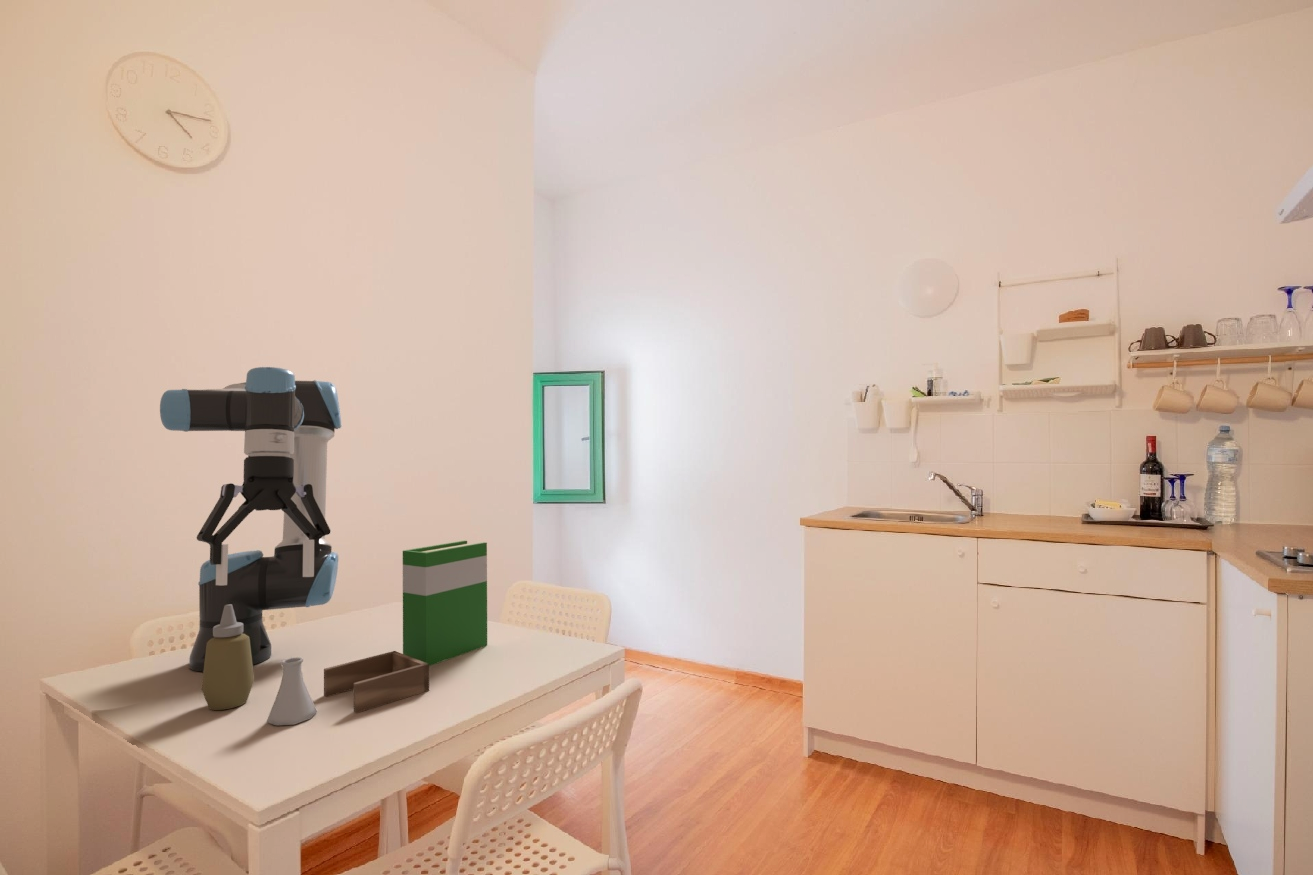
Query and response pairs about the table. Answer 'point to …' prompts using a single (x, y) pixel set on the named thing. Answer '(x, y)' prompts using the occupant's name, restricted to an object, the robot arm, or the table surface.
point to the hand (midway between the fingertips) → (266, 580)
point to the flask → (292, 696)
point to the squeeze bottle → (227, 664)
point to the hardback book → (444, 600)
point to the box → (378, 679)
